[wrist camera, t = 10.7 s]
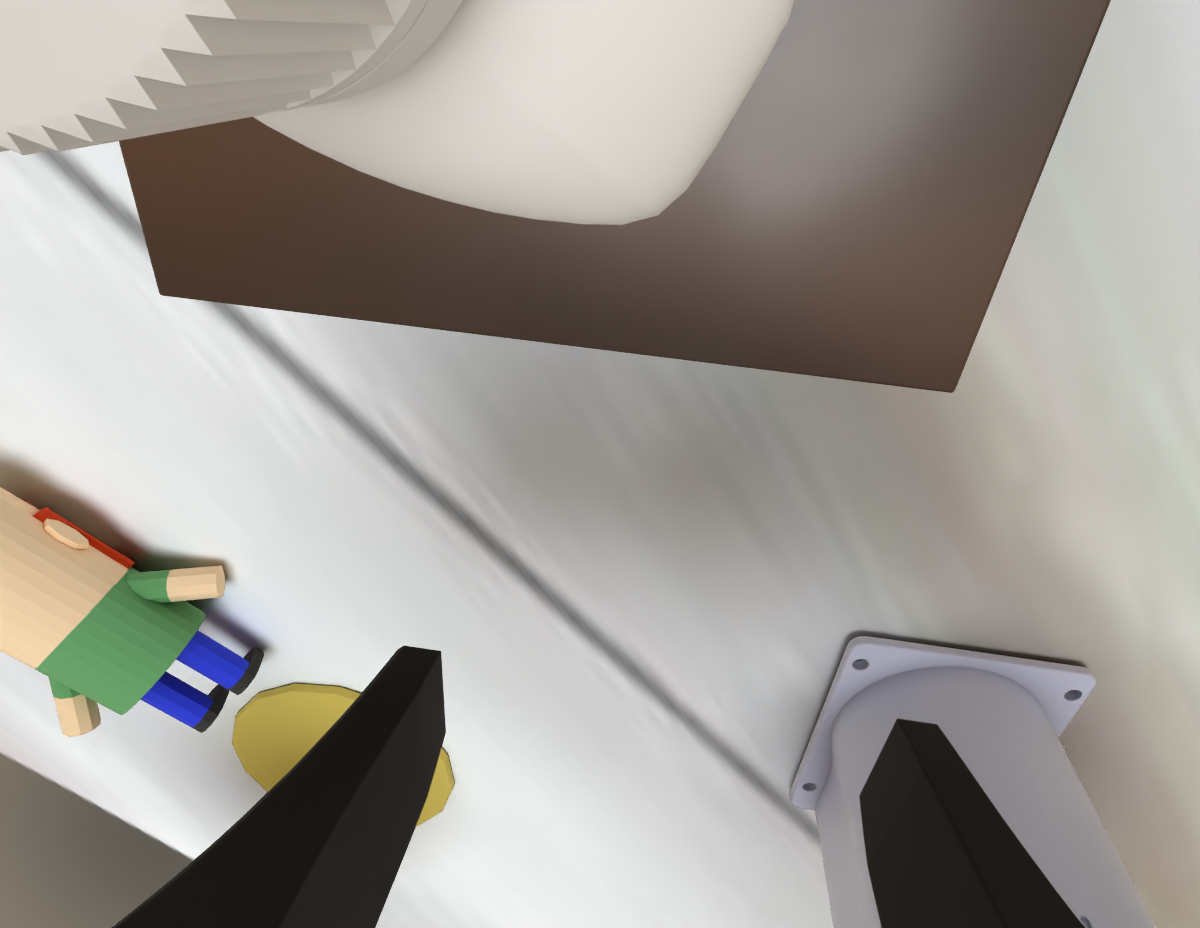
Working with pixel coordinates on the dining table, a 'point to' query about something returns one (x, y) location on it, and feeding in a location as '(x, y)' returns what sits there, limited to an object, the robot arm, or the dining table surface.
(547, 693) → the dining table surface
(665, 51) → the eye dropper bottle
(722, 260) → the shelf
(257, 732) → the candle
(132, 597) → the toy figurine
